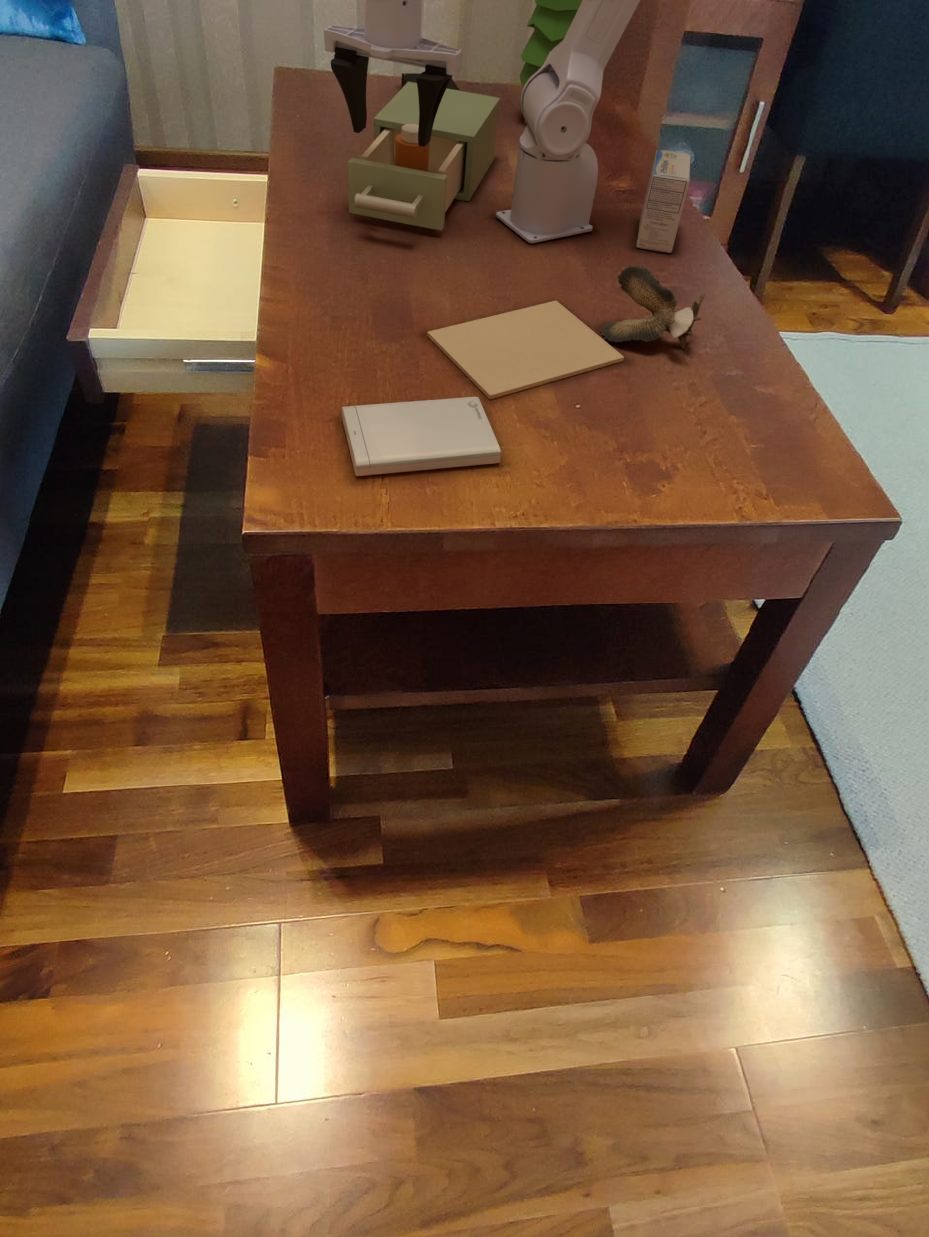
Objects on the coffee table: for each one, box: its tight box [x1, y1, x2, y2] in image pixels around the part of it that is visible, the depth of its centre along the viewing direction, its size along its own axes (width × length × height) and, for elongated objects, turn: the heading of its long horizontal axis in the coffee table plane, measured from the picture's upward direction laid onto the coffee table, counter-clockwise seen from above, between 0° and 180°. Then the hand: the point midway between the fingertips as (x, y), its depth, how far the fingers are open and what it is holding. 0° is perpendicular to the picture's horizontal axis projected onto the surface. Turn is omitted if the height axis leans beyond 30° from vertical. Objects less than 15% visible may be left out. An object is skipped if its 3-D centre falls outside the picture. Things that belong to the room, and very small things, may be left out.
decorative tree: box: [519, 0, 583, 125], centre depth 115 cm, size 10×9×30 cm
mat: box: [426, 300, 625, 400], centre depth 84 cm, size 16×12×1 cm
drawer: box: [347, 127, 467, 231], centre depth 99 cm, size 18×11×6 cm, turn 166°
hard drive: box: [341, 396, 502, 477], centre depth 72 cm, size 2×8×12 cm
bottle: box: [395, 124, 430, 172], centre depth 99 cm, size 4×4×7 cm
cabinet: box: [373, 82, 501, 202], centre depth 108 cm, size 15×13×8 cm
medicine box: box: [635, 149, 692, 254], centre depth 100 cm, size 8×4×9 cm, turn 168°
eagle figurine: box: [599, 265, 706, 350], centre depth 85 cm, size 8×7×9 cm
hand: (391, 136), depth 93 cm, fingers open, 7 cm apart
